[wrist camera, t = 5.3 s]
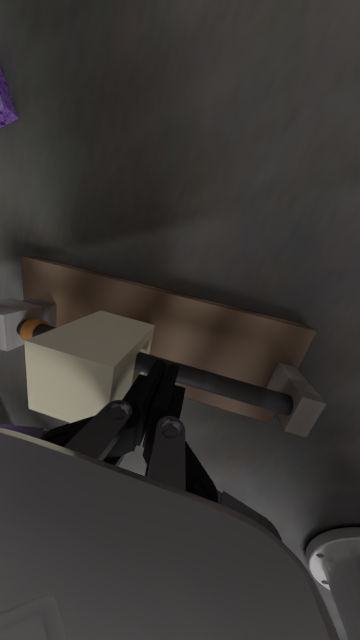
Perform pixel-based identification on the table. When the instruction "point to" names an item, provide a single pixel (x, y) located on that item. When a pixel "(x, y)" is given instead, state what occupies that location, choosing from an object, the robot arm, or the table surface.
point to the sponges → (6, 103)
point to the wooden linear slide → (180, 340)
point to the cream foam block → (84, 364)
